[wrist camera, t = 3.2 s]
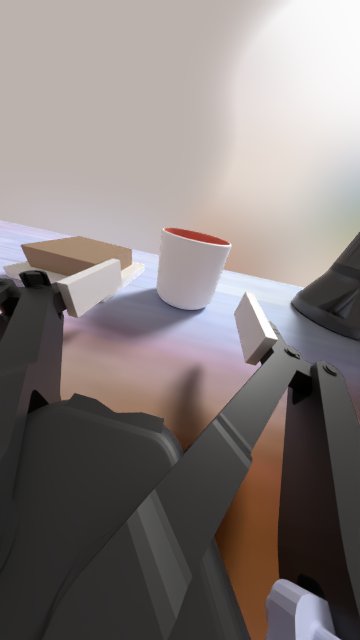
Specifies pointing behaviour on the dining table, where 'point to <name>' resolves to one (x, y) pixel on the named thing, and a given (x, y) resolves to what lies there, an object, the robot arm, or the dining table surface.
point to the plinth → (74, 259)
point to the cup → (189, 267)
